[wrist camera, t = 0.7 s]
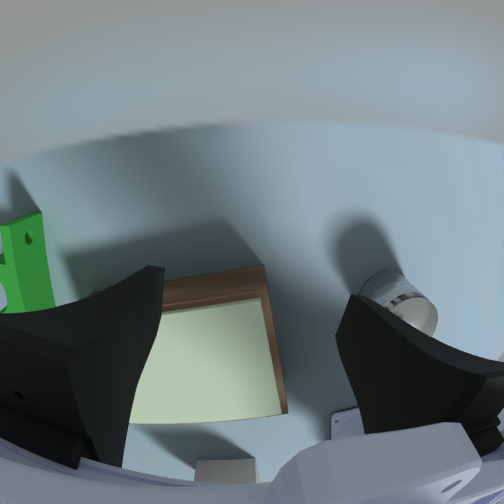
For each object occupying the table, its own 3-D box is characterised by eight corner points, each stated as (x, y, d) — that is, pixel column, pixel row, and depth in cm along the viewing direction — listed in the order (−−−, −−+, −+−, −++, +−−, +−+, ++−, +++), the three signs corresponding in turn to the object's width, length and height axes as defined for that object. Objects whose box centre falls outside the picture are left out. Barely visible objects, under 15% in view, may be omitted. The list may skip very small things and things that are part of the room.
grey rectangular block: (196, 460, 30) (187, 531, 20) (255, 457, 29) (257, 532, 20) (204, 474, 31) (197, 541, 21) (259, 472, 31) (261, 541, 21)
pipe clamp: (13, 212, 21) (-21, 224, 16) (43, 212, 21) (9, 225, 17) (33, 326, 24) (9, 350, 20) (62, 332, 24) (38, 359, 20)
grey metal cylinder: (406, 314, 24) (433, 346, 19) (358, 326, 24) (379, 363, 19) (408, 265, 22) (440, 291, 18) (357, 276, 23) (381, 307, 18)
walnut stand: (283, 381, 26) (288, 417, 21) (136, 394, 26) (123, 426, 22) (263, 264, 22) (267, 291, 18) (91, 292, 23) (66, 318, 19)
